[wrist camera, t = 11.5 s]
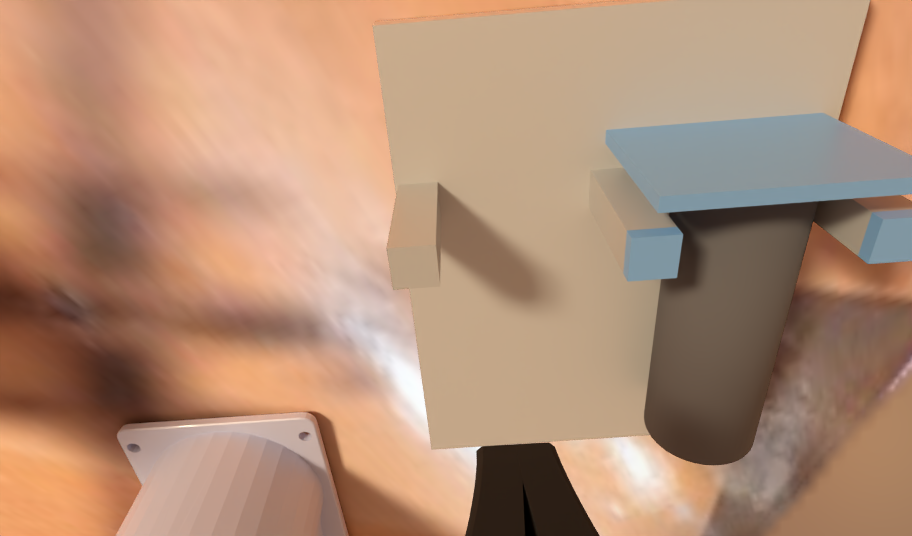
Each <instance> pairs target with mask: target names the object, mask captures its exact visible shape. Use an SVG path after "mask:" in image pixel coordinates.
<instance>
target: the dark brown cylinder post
mask: <svg viewBox="0 0 912 536" xmlns="http://www.w3.org/2000/svg"><path fill="white" fill-rule="evenodd" d="M817 205H818V201H813V202H800V203H787V204H774V205H761V206H747V207H734V208H721V209H708V210H694V211H681V212H669V217H670V218H671V219H672V221H673V222H674V223H675V225H676V226H677V227H678V228H679V230H680V231H681V232H682V233H683V239H682V246H681V253H680V260H679V267H678V274H677V278H670V279H661V283H660V291H659V298H658V306H657V314H656V322H655V330H654V338H653V346H652V354H651V362H650V370H649V378H648V386H647V394H646V401H645V409H644V423H645V426H646V428H647V430H648V432H649V434H650V435H651V437H652V438H653V439H654V440H655V441H656V443H658V444H659V445H660V446H661V447H662V448H664V449H665V450H666V451H668V452H669V453H671V454H673V455H675V456H677V457H679V458H681V459H684V460H686V461H690V462H693V463H698V464H703V465H723V464H728V463H732V462H735V461H737V460H739V459H741V458H743V457H744V456H745V455H746V454H747V453H748V452H749V451H750V449H751V447H752V445H753V442H754V438H755V434H756V431H757V427H758V423H759V420H760V416H761V412H762V408H763V405H764V401H765V397H766V394H767V390H768V386H769V383H770V379H771V375H772V371H773V368H774V364H775V360H776V357H777V353H778V349H779V345H780V342H781V338H782V334H783V331H784V327H785V323H786V319H787V316H788V312H789V308H790V305H791V301H792V297H793V294H794V290H795V286H796V282H797V279H798V275H799V271H800V268H801V264H802V260H803V256H804V253H805V249H806V245H807V242H808V238H809V234H810V231H811V227H812V223H813V219H814V216H815V212H816V208H817Z"/></svg>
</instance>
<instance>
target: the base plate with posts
mask: <svg viewBox="0 0 912 536" xmlns="http://www.w3.org/2000/svg"><path fill="white" fill-rule="evenodd" d="M869 4H870V0H624V1H612V2H600V3H588V4H576V5H564V6H552V7H541V8H529V9H517V10H505V11H493V12H481V13H470V14H458V15H446V16H434V17H422V18H410V19H399V20H387V21H376V22H375V23H374V24H373V33H374V40H375V47H376V54H377V62H378V69H379V76H380V83H381V90H382V97H383V105H384V112H385V119H386V126H387V133H388V140H389V147H390V155H391V162H392V169H393V176H394V183H395V190H396V199H395V205H394V210H393V216H392V221H391V227H390V232H389V237H388V243H387V248H386V249H387V255H388V261H389V268H390V274H391V280H392V287H393V290H400V289H409V291H410V298H411V305H412V312H413V319H414V326H415V334H416V341H417V348H418V355H419V362H420V369H421V377H422V384H423V391H424V398H425V405H426V412H427V419H428V427H429V434H430V441H431V448H432V449H447V448H463V447H478V446H493V445H508V444H523V443H538V442H553V441H568V440H583V439H598V438H613V437H628V436H643V435H650V434H649V432H648V430H647V428H646V426H645V423H644V409H645V401H646V394H647V386H648V378H649V370H650V362H651V354H652V346H653V338H654V330H655V322H656V314H657V306H658V298H659V291H660V283H661V279H670V278H677V274H678V267H679V260H680V253H681V246H682V239H683V233H682V232H681V231H680V230H679V228H678V227H677V226H676V225H675V223H674V222H673V221H672V219H671V218H670V217H669V212H681V211H694V210H708V209H721V208H734V207H747V206H761V205H774V204H787V203H800V202H813V201H818V205H817V208H816V212H815V216H814V219H813V221H814V222H815V223H817V224H818V225H819V226H820V227H822V228H823V229H824V230H826V231H827V232H828V233H829V234H831V235H832V236H833V237H834V238H836V239H837V240H838V241H839V242H841V243H842V244H843V245H845V246H846V247H847V248H848V249H850V250H851V251H852V252H853V253H855V254H856V255H857V256H858V257H860V258H861V259H862V260H864V261H865V262H866V263H867V264H877V263H890V262H904V261H912V201H910V200H908V199H907V198H905V197H903V196H902V195H906V194H912V155H909V154H907V153H905V152H903V151H901V150H899V149H897V148H895V147H893V146H891V145H889V144H887V143H885V142H883V141H880V140H878V139H876V138H874V137H872V136H870V135H868V134H866V133H864V132H862V131H860V130H858V129H856V128H854V127H851V126H849V125H847V124H845V123H843V122H841V121H839V120H838V119H839V115H840V112H841V108H842V104H843V100H844V97H845V93H846V89H847V86H848V82H849V78H850V74H851V71H852V67H853V63H854V59H855V56H856V52H857V48H858V45H859V41H860V37H861V33H862V30H863V26H864V22H865V18H866V15H867V11H868V7H869Z"/></svg>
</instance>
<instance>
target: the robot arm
mask: <svg viewBox="0 0 912 536" xmlns="http://www.w3.org/2000/svg"><path fill="white" fill-rule="evenodd" d="M304 432H308V433H310V434H306V433H304ZM117 439H118V441H119V443H120V445H121V447H122V449H123V450H124V452H125V454H126V456H127V458H128V460H129V462H130V463H131V465H132V467H133V469H134V471H135V473H136V475H137V477H138V478H139V480H140V482H141V484H142V488H141V490H140V492H139V494H138V496H137V497H136V499H135V501H134V503H133V505H132V507H131V508H130V510H129V512H128V514H127V516H126V518H125V519H124V521H123V523H122V525H121V527H120V529H119V531H118V532H117V534H116V536H349V535H348V531H347V528H346V524H345V520H344V517H343V513H342V509H341V506H340V502H339V499H338V495H337V491H336V488H335V484H334V481H333V477H332V473H331V470H330V466H329V462H328V459H327V455H326V452H325V448H324V444H323V441H322V437H321V434H320V430H319V426H318V423H317V420H316V418H315V417H314V416H313V415H312V414H310V413H307V412H295V413H281V414H266V415H252V416H237V417H222V418H208V419H193V420H178V421H164V422H149V423H134V424H126V425H124V426H122V427H121V429H120V430H119V432H118V434H117ZM465 536H599V534H598V532H597V531H596V529H595V527H594V526H593V524H592V522H591V520H590V518H589V517H588V515H587V513H586V511H585V510H584V508H583V506H582V504H581V502H580V500H579V498H578V496H577V495H576V493H575V491H574V489H573V487H572V485H571V483H570V481H569V479H568V477H567V475H566V472H565V470H564V468H563V466H562V464H561V461H560V459H559V457H558V454H557V452H556V449H555V447H554V446H553V445H552V444H550V443H531V444H513V445H495V446H482V447H481V448H480V449H478V450H477V468H476V480H475V488H474V495H473V501H472V507H471V512H470V518H469V522H468V526H467V531H466V535H465Z"/></svg>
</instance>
